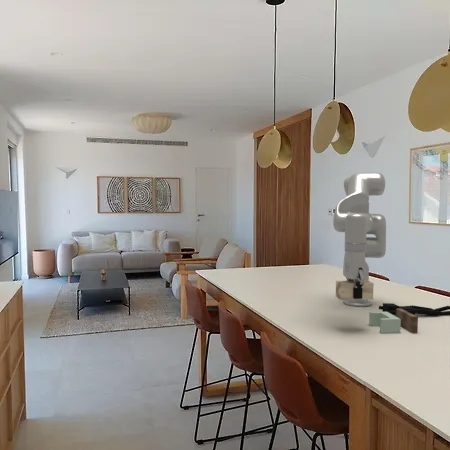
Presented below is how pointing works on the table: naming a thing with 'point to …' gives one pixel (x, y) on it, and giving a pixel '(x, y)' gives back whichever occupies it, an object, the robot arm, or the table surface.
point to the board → (407, 320)
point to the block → (385, 322)
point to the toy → (415, 309)
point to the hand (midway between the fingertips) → (354, 296)
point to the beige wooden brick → (346, 290)
